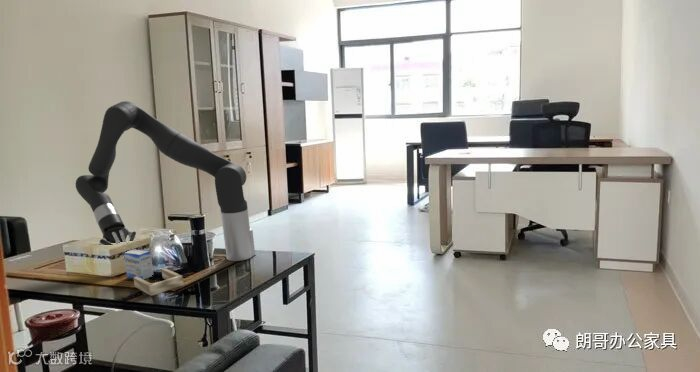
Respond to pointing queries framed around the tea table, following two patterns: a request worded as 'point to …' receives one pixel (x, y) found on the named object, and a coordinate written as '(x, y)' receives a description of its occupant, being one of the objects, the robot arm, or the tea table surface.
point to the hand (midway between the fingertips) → (127, 258)
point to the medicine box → (138, 264)
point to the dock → (160, 283)
